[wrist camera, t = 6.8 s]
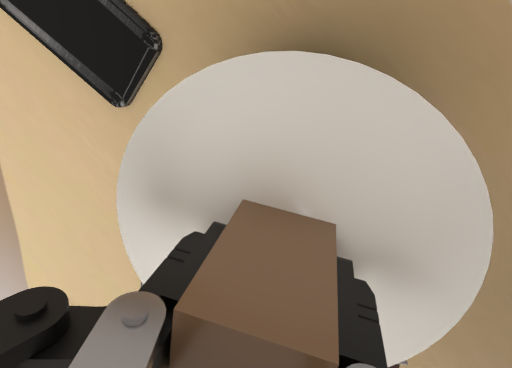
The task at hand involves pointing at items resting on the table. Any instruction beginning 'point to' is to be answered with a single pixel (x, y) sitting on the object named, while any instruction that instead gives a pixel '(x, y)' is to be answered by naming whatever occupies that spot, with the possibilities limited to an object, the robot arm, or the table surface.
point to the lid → (304, 209)
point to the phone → (93, 41)
